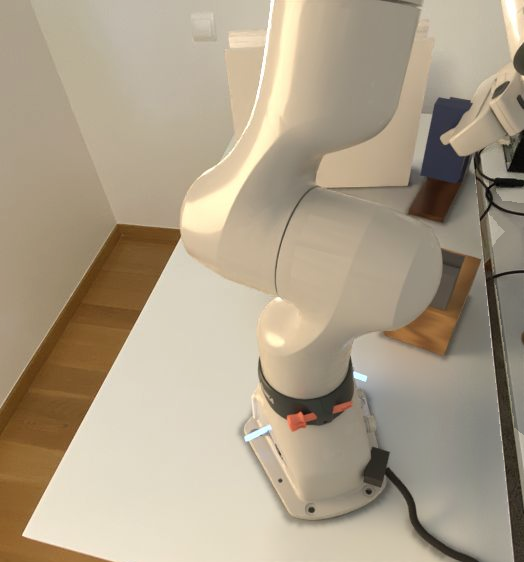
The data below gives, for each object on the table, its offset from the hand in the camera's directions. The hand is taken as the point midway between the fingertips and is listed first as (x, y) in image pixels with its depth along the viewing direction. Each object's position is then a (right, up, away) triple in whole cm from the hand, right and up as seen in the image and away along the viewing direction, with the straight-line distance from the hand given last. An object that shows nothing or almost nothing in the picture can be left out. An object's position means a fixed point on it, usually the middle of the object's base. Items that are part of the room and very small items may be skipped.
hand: (446, 134), depth 89 cm
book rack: (+4, -6, +14) cm, 15 cm away
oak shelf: (-5, -33, -5) cm, 33 cm away
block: (-19, -1, +20) cm, 28 cm away
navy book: (+1, -5, +7) cm, 9 cm away
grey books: (-8, -30, -14) cm, 34 cm away
